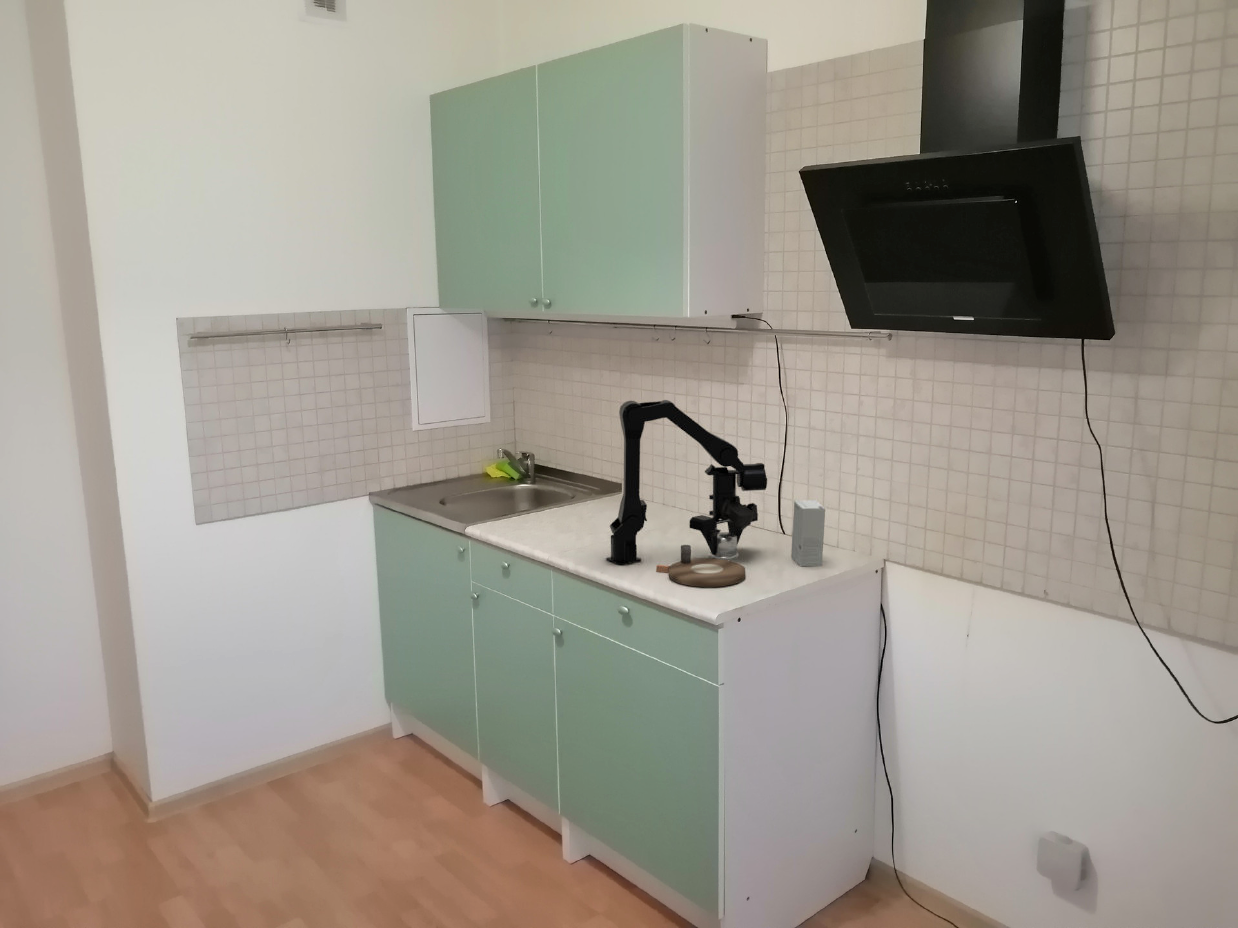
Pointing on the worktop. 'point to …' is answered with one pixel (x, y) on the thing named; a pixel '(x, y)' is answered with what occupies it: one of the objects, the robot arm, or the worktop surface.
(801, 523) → the skincare box
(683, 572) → the turntable
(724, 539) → the cap
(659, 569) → the pointer
